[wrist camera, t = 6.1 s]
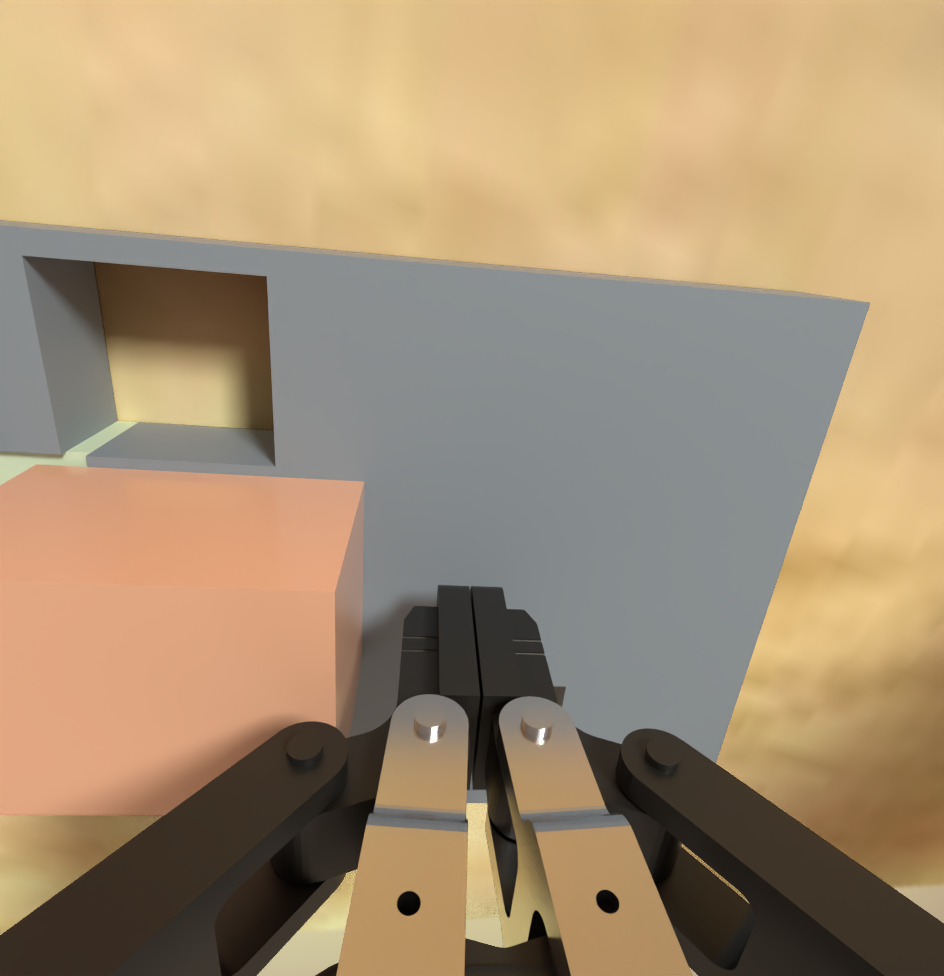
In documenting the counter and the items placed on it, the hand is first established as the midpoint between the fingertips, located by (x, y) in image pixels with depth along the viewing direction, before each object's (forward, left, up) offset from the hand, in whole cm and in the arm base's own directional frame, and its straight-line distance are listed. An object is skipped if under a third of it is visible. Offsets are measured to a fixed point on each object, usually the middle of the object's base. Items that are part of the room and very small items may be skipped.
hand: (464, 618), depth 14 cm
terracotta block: (+6, 0, -1) cm, 6 cm away
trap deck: (+3, 0, -4) cm, 5 cm away
